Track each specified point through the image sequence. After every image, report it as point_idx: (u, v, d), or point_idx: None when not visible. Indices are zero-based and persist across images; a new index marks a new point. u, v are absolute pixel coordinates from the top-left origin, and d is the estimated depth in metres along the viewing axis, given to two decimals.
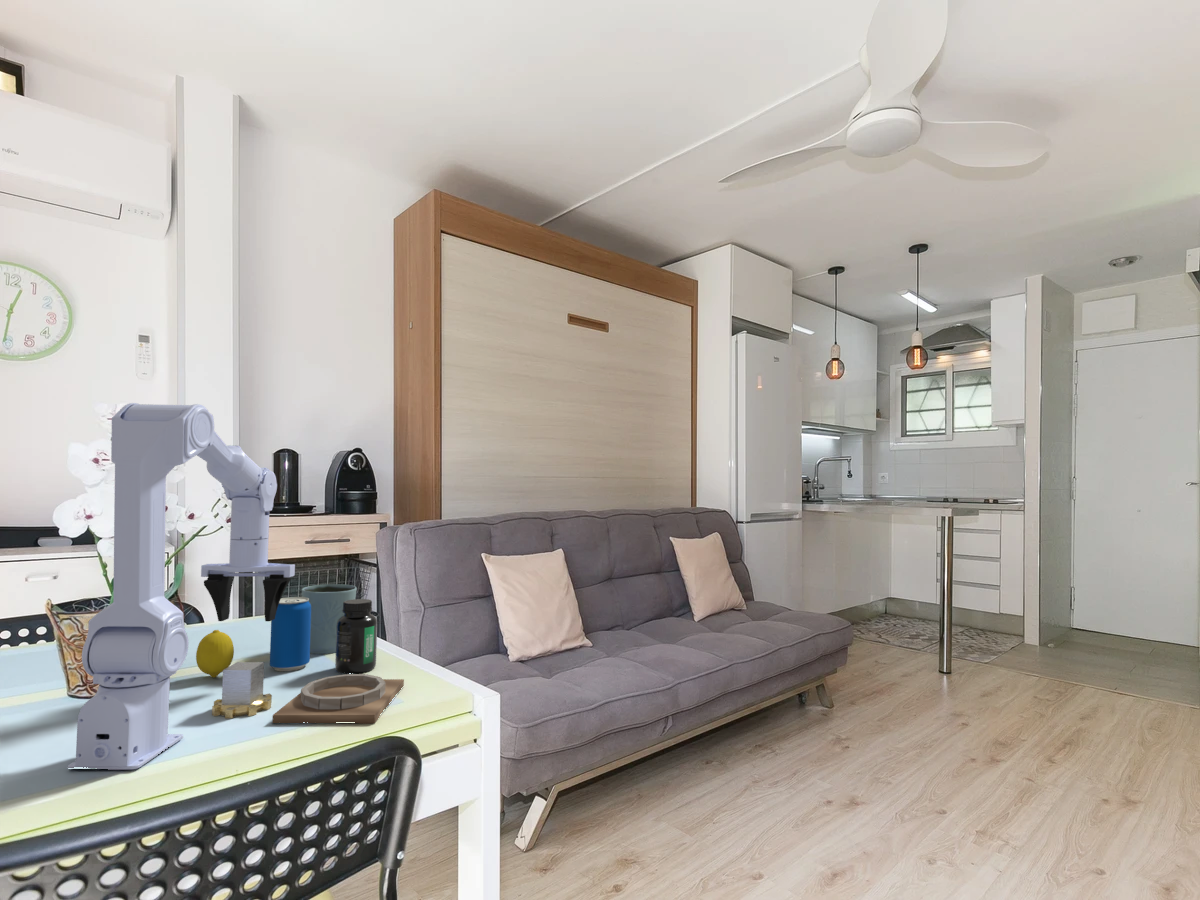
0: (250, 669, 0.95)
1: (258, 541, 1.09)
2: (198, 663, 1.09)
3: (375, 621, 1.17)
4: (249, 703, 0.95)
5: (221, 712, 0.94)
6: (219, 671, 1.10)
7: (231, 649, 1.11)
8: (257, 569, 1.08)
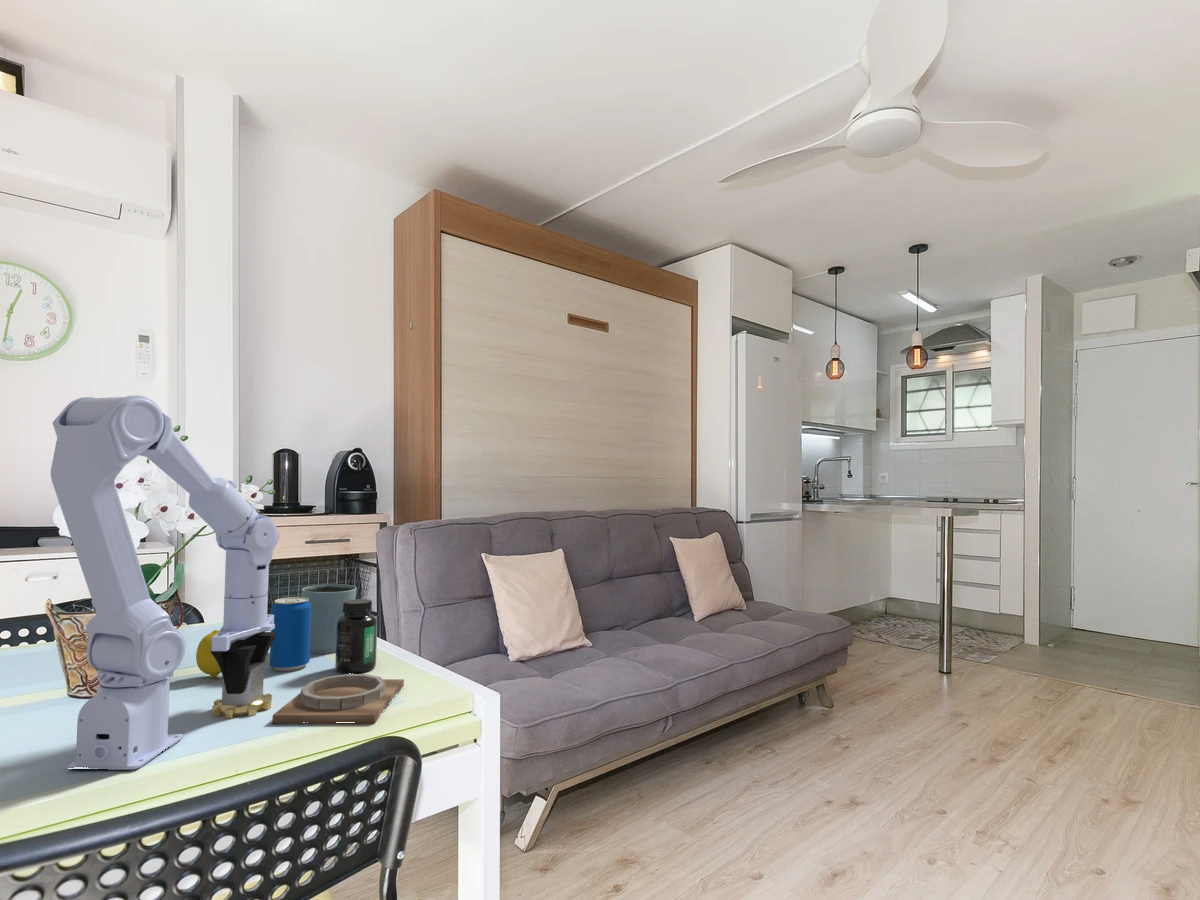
0: (250, 669, 0.95)
1: (226, 600, 0.95)
2: (198, 663, 1.09)
3: (375, 621, 1.17)
4: (249, 703, 0.95)
5: (221, 712, 0.94)
6: (219, 671, 1.10)
7: None
8: (220, 632, 0.94)
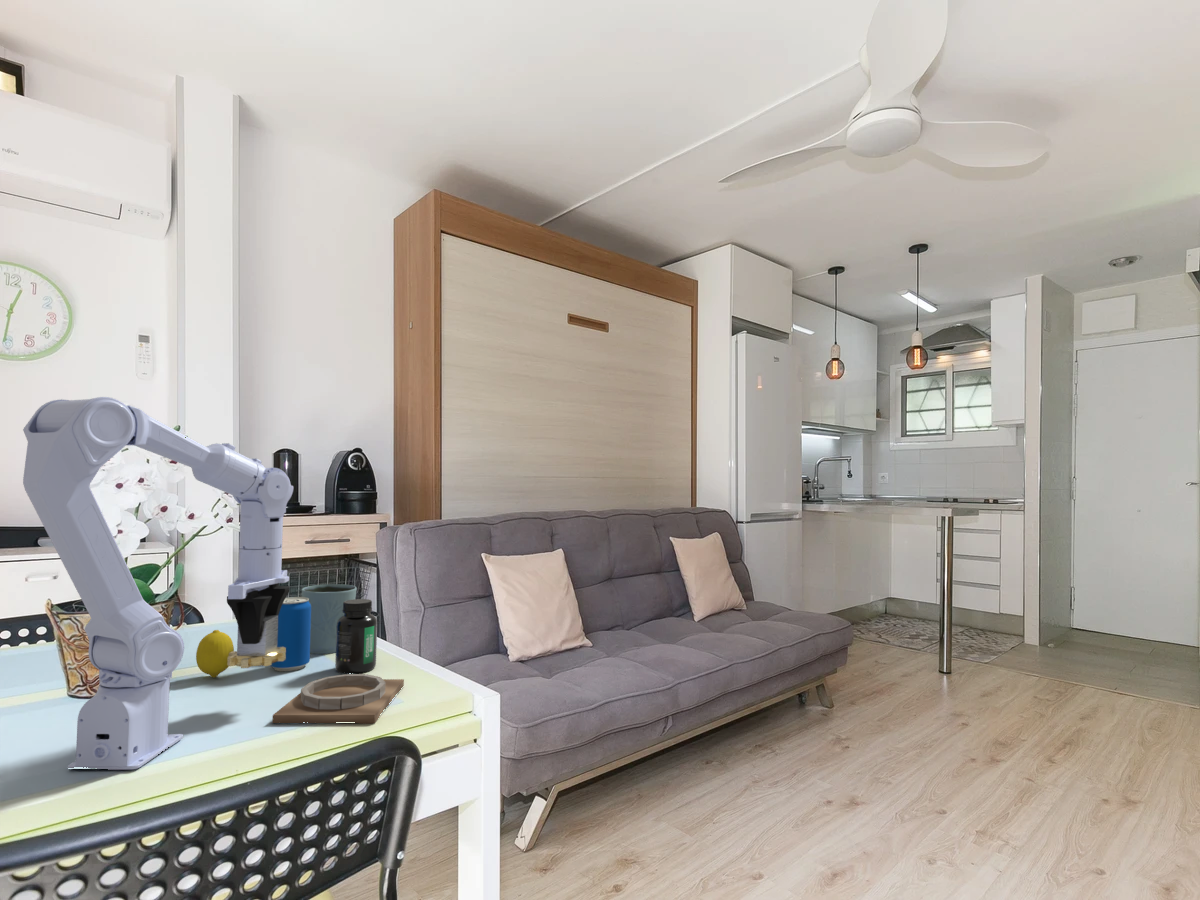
0: (265, 620, 0.96)
1: (242, 551, 0.96)
2: (198, 663, 1.09)
3: (375, 621, 1.17)
4: (264, 654, 0.96)
5: (237, 663, 0.94)
6: (219, 671, 1.10)
7: (231, 649, 1.11)
8: None
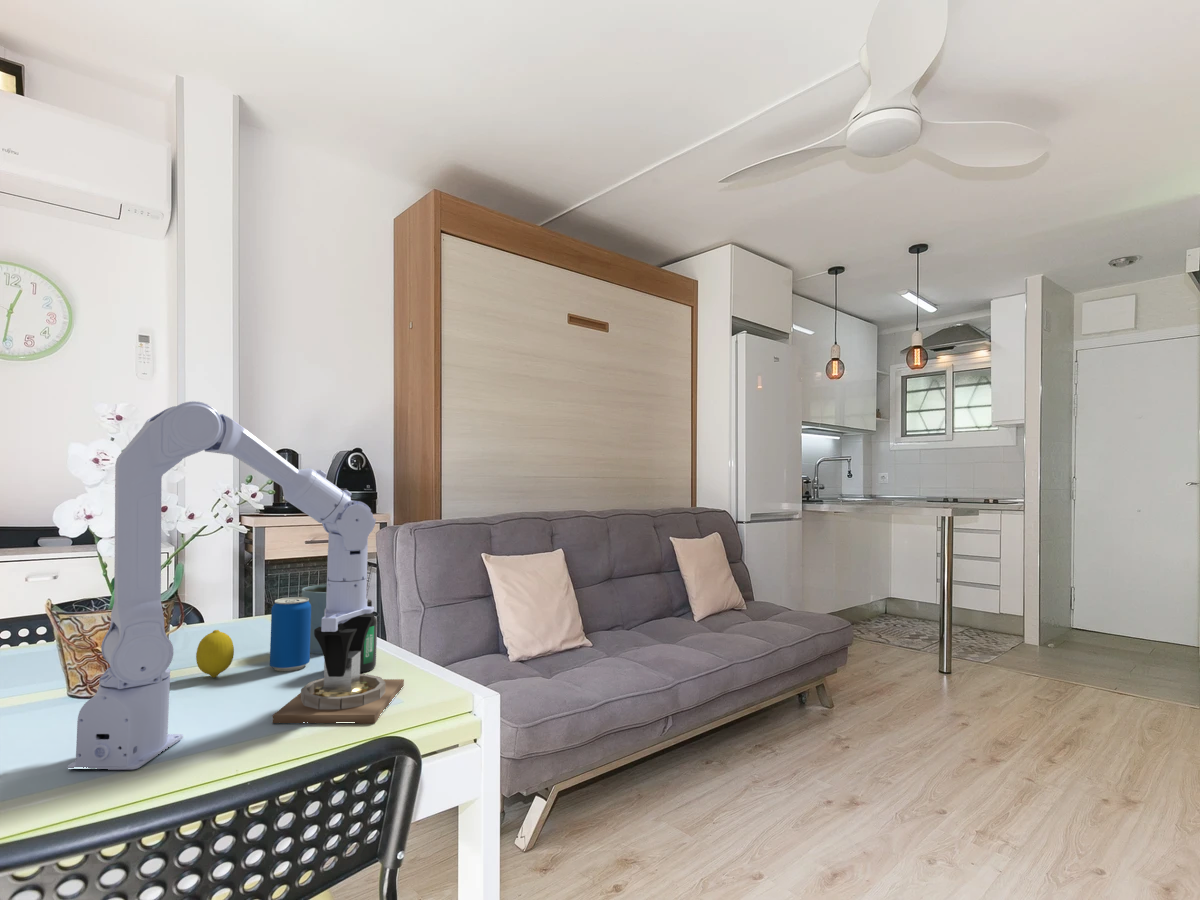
0: (350, 657, 0.98)
1: (330, 583, 0.98)
2: (198, 663, 1.09)
3: (375, 621, 1.17)
4: (350, 690, 0.97)
5: None
6: (219, 671, 1.10)
7: (231, 649, 1.11)
8: None
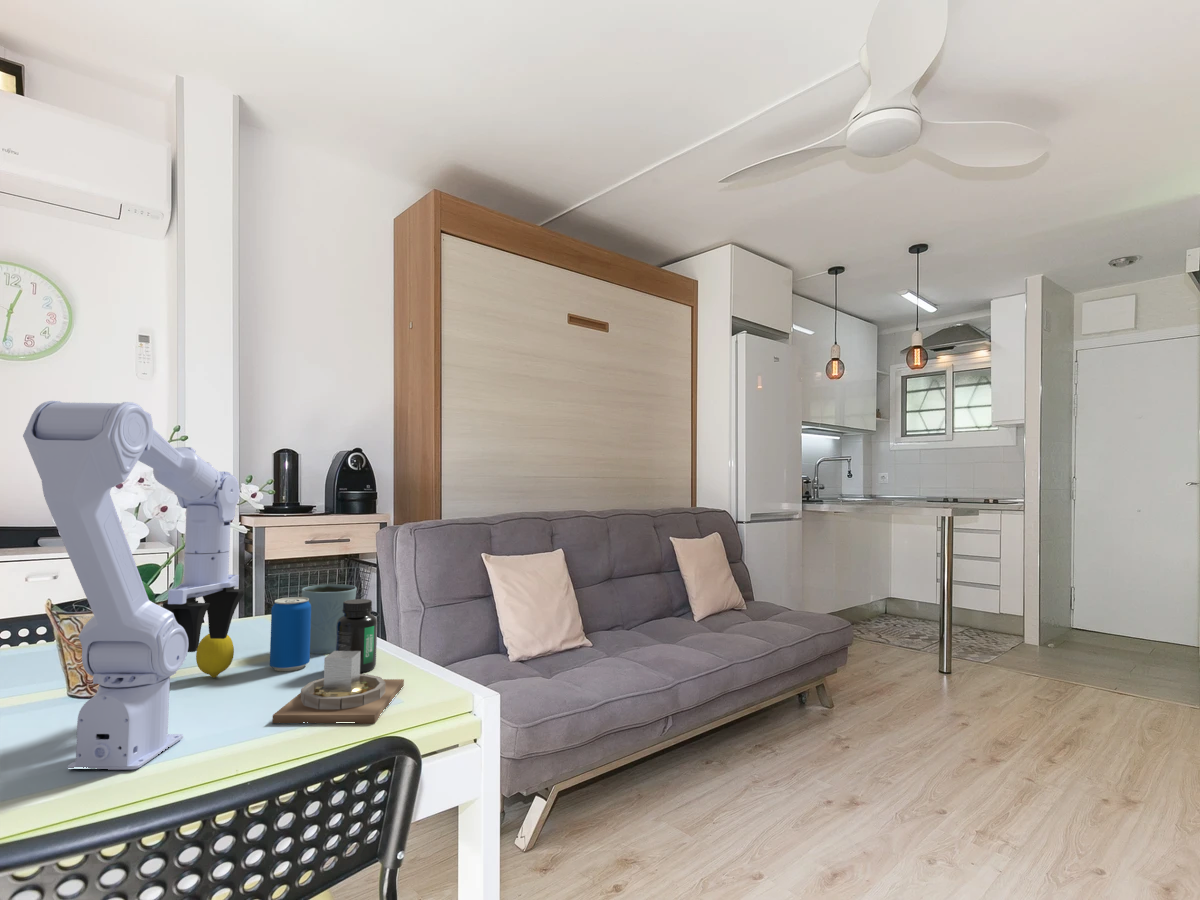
0: (350, 657, 0.98)
1: (186, 555, 0.95)
2: (198, 663, 1.09)
3: (375, 621, 1.17)
4: (350, 690, 0.97)
5: None
6: (219, 671, 1.10)
7: (231, 649, 1.11)
8: None
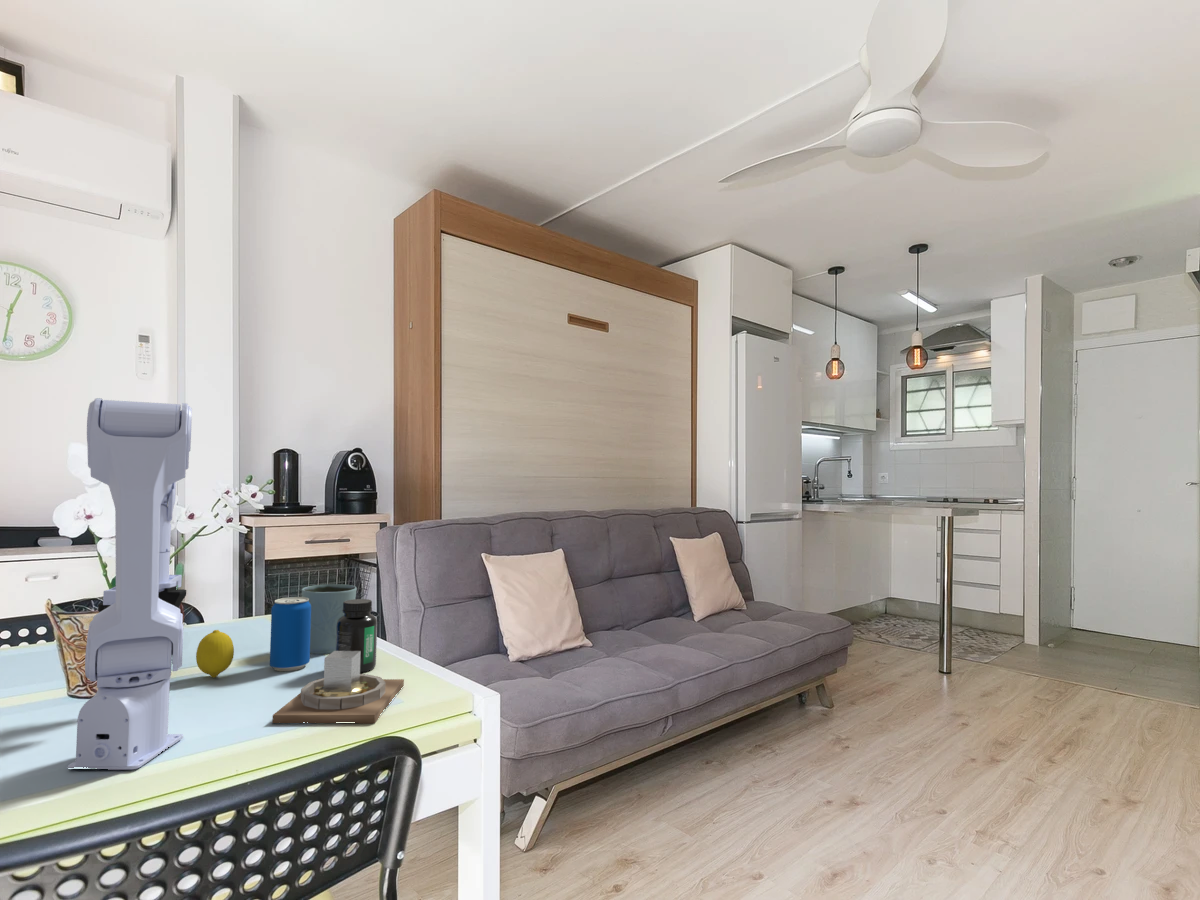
0: (350, 657, 0.98)
1: None
2: (198, 663, 1.09)
3: (375, 621, 1.17)
4: (350, 690, 0.97)
5: None
6: (219, 671, 1.10)
7: (231, 649, 1.11)
8: None
